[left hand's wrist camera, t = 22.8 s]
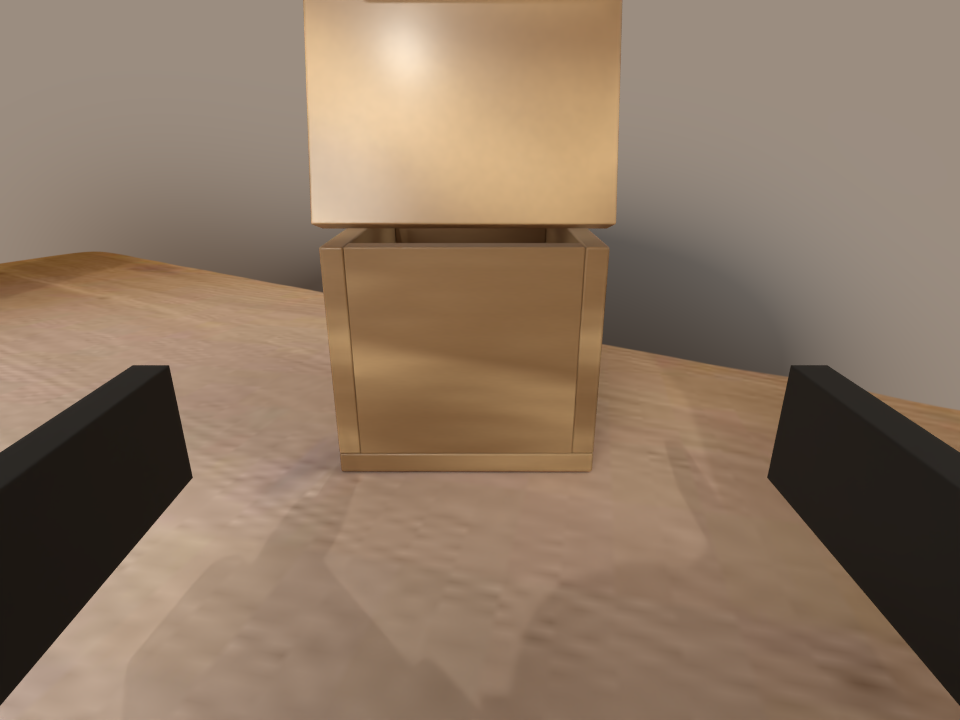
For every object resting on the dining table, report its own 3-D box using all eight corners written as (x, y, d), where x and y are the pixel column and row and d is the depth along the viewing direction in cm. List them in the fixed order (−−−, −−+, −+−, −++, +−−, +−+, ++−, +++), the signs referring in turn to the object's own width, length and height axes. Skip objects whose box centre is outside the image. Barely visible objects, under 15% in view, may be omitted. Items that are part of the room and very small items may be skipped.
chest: (389, 355, 35) (380, 204, 32) (553, 355, 35) (560, 204, 32) (341, 472, 23) (318, 247, 20) (591, 472, 23) (610, 247, 20)
